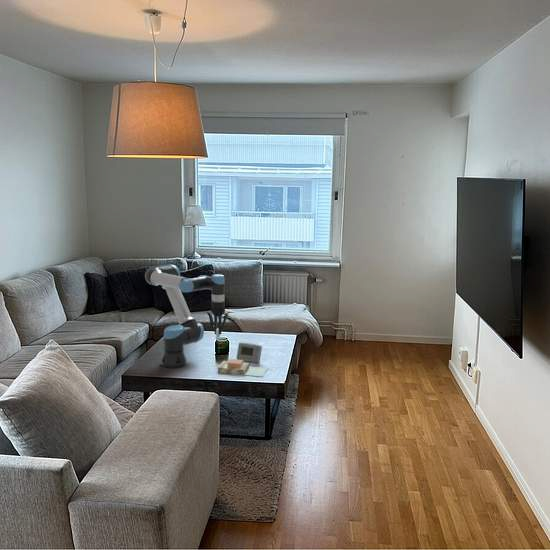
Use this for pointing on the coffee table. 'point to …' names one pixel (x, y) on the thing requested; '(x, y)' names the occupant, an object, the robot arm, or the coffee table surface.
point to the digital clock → (249, 352)
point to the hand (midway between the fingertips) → (217, 339)
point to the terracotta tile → (235, 363)
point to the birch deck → (233, 368)
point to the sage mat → (256, 371)
